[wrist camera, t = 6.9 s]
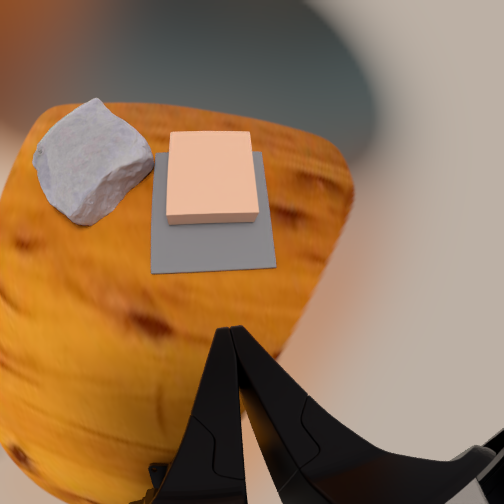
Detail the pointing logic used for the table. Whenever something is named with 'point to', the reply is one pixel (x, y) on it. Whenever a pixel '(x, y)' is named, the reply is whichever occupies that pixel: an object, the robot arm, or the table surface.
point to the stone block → (90, 162)
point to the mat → (209, 234)
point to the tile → (211, 178)
